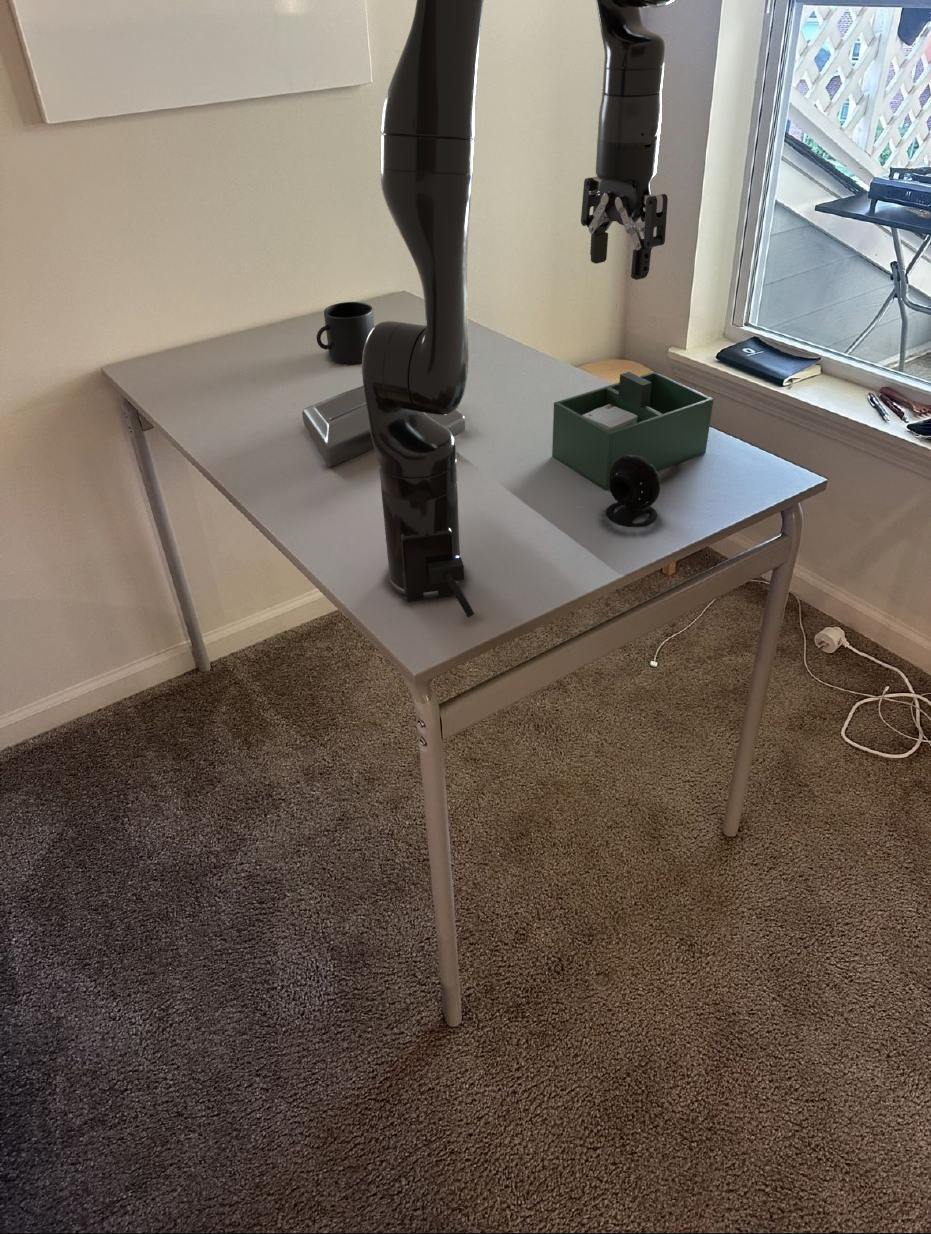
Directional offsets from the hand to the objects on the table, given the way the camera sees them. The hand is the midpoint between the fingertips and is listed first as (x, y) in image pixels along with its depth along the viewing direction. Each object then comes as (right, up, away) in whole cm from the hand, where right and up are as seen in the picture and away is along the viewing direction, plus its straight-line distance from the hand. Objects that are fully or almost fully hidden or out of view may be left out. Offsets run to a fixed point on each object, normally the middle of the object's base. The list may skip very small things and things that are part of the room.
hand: (618, 270), depth 120 cm
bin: (+5, -21, +20) cm, 29 cm away
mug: (-44, +5, +58) cm, 73 cm away
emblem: (-34, -15, +31) cm, 49 cm away
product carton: (+1, -22, +18) cm, 29 cm away
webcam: (+3, -33, +7) cm, 34 cm away
